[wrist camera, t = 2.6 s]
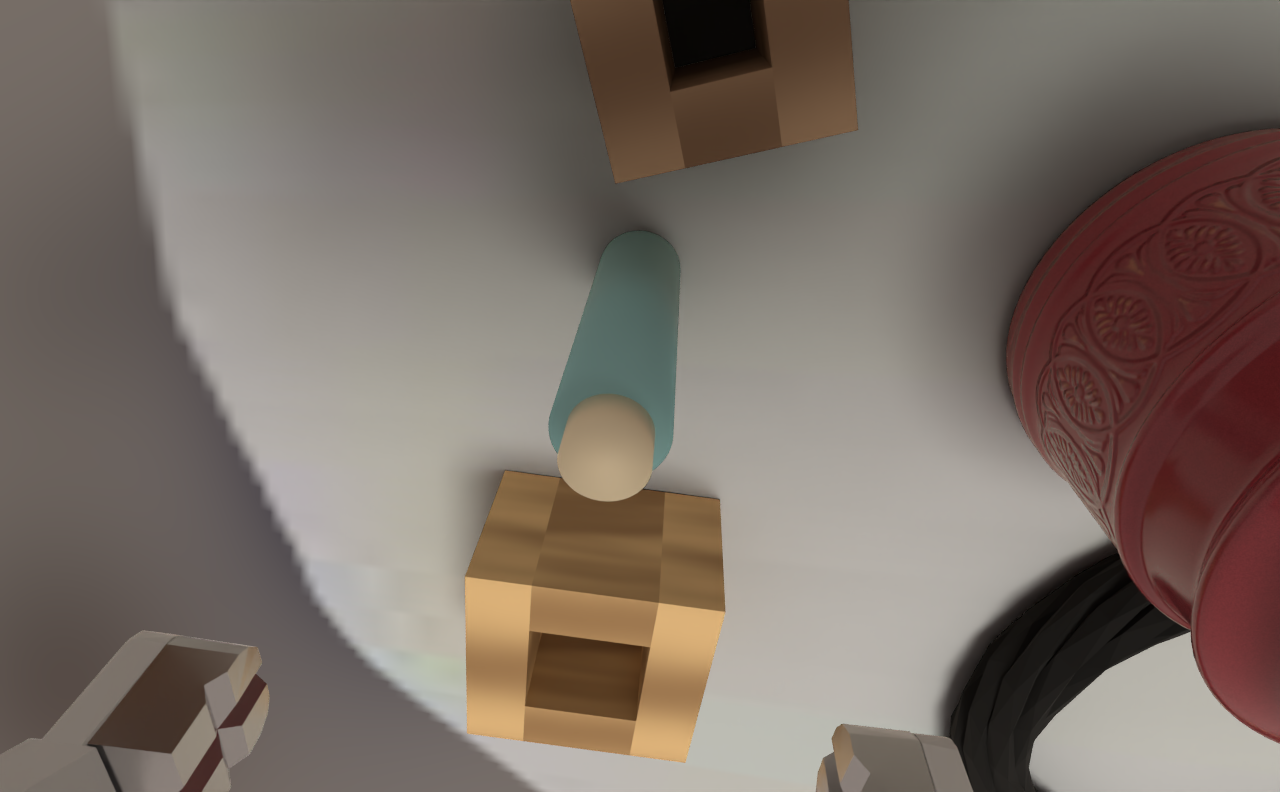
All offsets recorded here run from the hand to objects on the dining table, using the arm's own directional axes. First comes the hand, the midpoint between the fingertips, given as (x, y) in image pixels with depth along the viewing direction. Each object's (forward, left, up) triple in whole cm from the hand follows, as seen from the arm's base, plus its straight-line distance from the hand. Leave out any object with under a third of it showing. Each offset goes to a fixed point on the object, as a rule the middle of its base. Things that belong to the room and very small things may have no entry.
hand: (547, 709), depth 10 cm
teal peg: (0, 0, -17) cm, 17 cm away
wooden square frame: (+14, 0, -17) cm, 22 cm away
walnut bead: (-8, +1, -17) cm, 19 cm away
